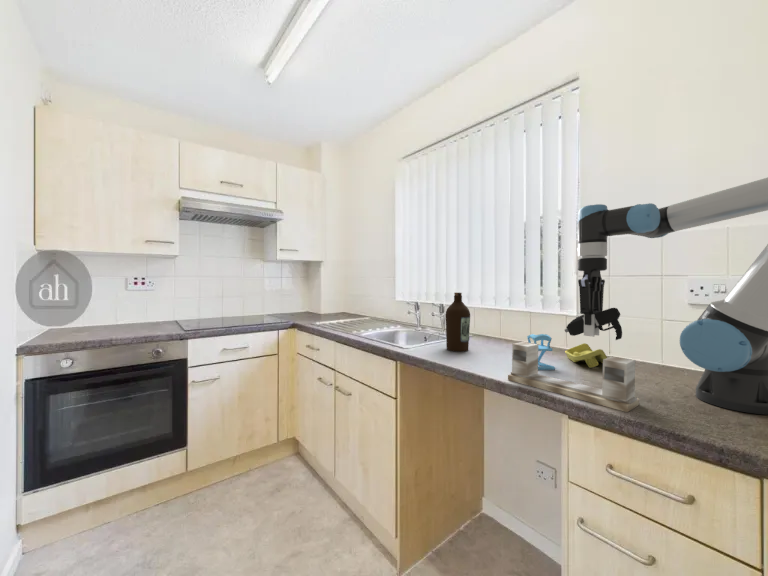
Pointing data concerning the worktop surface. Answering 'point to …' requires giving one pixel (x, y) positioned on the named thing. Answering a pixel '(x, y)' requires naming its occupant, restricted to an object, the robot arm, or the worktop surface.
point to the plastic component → (586, 355)
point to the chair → (542, 349)
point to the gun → (597, 322)
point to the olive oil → (457, 325)
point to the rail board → (614, 383)
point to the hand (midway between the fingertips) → (591, 335)
